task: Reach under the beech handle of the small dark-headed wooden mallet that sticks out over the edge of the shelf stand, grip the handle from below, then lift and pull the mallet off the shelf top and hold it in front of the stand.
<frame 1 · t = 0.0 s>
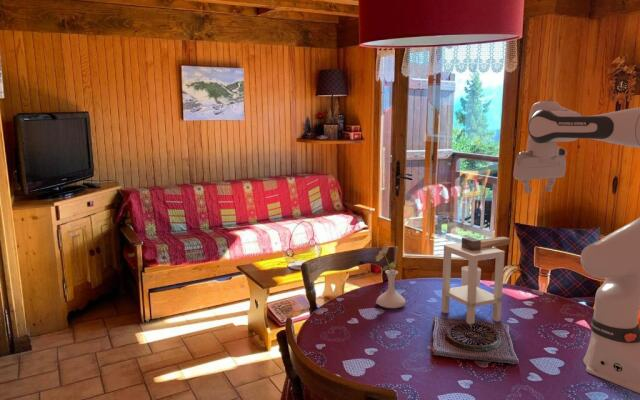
hand: (538, 192, 166), 48 cm above the table, tool pointing down, fingers open, 8 cm apart
mallet: (484, 246, 182), point 26 cm above the table, touching shelf stand
flower in vase: (389, 306, 194), on the table
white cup: (470, 291, 210), on the table
shelf stand: (470, 316, 184), on the table
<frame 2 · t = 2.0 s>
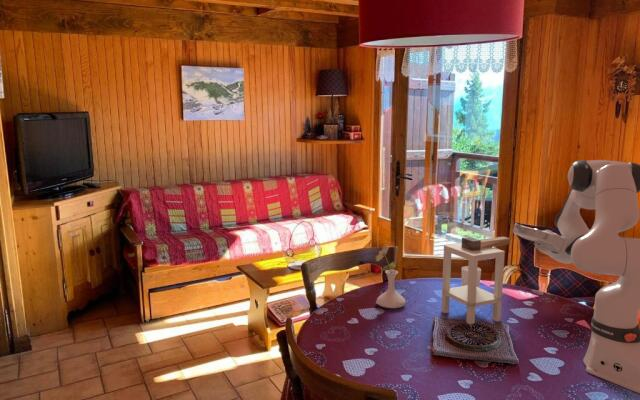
hand: (525, 228, 189), 31 cm above the table, tool pointing upward, fingers open, 8 cm apart
nothing on the table moved.
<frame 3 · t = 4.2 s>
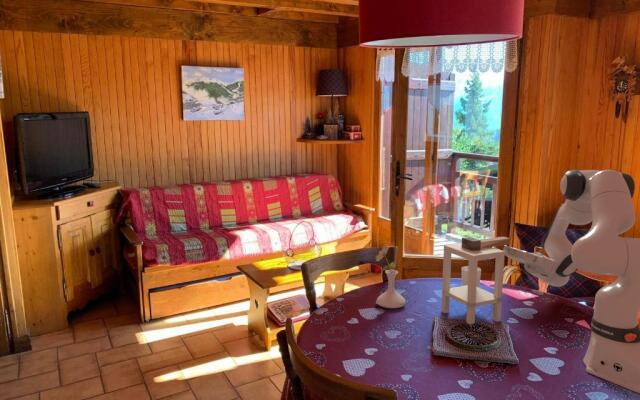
hand: (514, 250, 188), 23 cm above the table, tool pointing upward, fingers open, 8 cm apart
nothing on the table moved.
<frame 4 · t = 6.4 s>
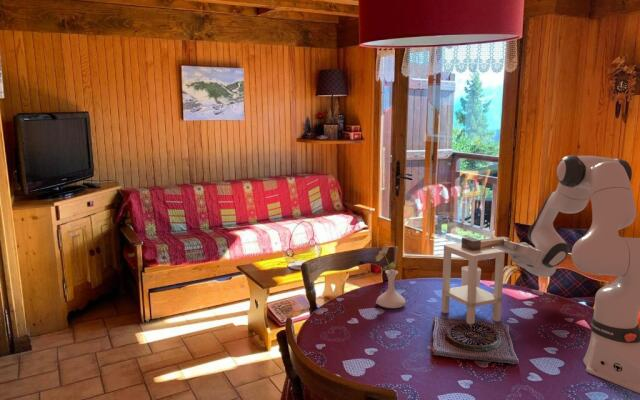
hand: (499, 240, 185), 28 cm above the table, tool pointing upward, fingers closed on mallet, 3 cm apart
mallet: (484, 246, 182), point 26 cm above the table, touching gripper, shelf stand
everything else where it was.
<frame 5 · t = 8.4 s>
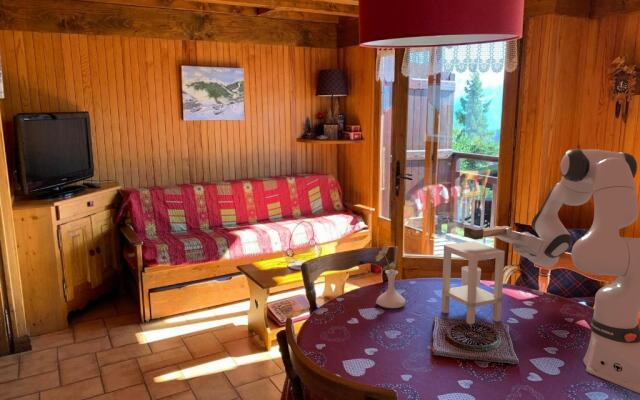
hand: (502, 229, 184), 32 cm above the table, tool pointing upward, fingers closed on mallet, 3 cm apart
mallet: (486, 235, 182), point 30 cm above the table, touching gripper
everything else where it was.
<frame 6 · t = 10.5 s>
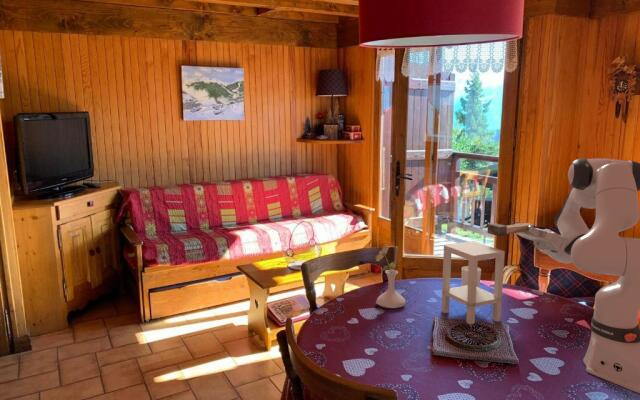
hand: (524, 226, 189), 32 cm above the table, tool pointing upward, fingers closed on mallet, 3 cm apart
mallet: (509, 232, 186), point 30 cm above the table, touching gripper
everything else where it was.
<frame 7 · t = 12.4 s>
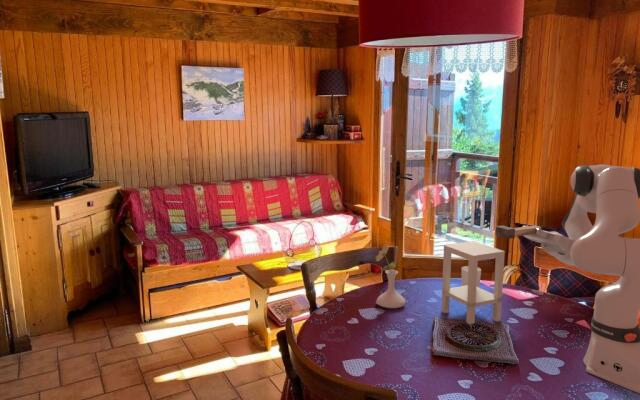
hand: (532, 228, 191), 30 cm above the table, tool pointing upward, fingers closed on mallet, 3 cm apart
mallet: (517, 235, 188), point 29 cm above the table, touching gripper
everything else where it was.
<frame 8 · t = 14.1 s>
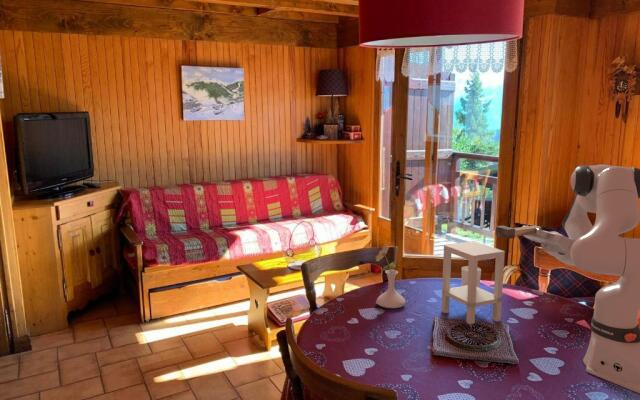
hand: (532, 228, 191), 30 cm above the table, tool pointing upward, fingers closed on mallet, 3 cm apart
mallet: (517, 235, 188), point 29 cm above the table, touching gripper
everything else where it was.
at the end: the gripper is holding mallet; mallet touching gripper; mallet inside the target area (8.0 cm from its centre), point 28.7 cm above the table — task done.
